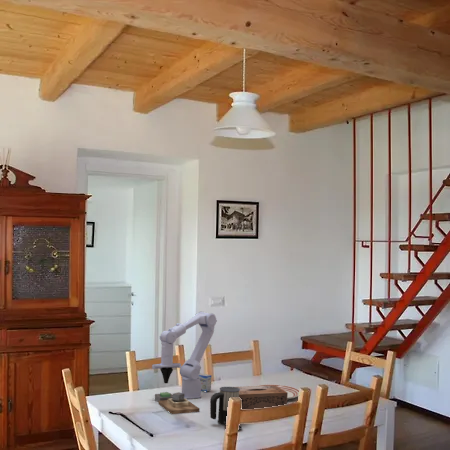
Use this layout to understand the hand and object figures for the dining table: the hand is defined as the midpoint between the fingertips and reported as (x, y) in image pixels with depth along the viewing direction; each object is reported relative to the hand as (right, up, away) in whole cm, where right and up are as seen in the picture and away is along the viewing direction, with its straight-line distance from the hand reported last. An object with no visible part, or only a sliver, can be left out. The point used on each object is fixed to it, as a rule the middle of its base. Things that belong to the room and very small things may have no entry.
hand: (165, 382), depth 287 cm
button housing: (0, -9, 0) cm, 9 cm away
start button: (0, -7, 0) cm, 7 cm away
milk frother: (+32, -9, -37) cm, 49 cm away
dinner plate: (+56, -12, +19) cm, 60 cm away
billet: (+7, -7, -12) cm, 16 cm away
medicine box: (+17, -11, +23) cm, 31 cm away
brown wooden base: (+7, -8, -12) cm, 17 cm away
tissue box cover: (+44, -11, -11) cm, 46 cm away
